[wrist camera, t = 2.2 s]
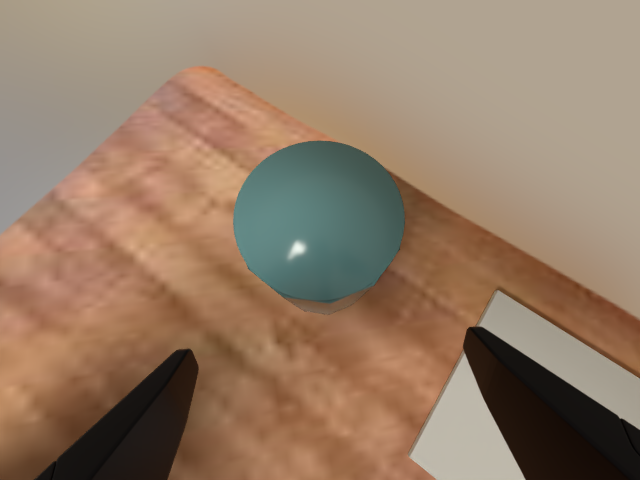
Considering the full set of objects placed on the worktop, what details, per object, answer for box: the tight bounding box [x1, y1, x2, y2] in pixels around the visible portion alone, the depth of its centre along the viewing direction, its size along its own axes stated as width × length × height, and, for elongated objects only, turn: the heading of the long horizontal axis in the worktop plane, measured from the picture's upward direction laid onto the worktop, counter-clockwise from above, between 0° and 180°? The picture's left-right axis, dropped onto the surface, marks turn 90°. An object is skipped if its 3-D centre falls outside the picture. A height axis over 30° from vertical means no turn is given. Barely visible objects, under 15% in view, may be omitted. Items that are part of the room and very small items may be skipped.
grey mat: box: [408, 290, 640, 480], centre depth 17 cm, size 20×13×1 cm, turn 54°
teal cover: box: [233, 141, 405, 315], centre depth 16 cm, size 7×7×11 cm
